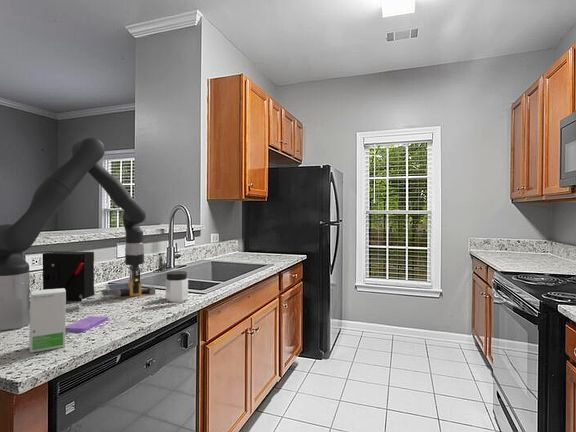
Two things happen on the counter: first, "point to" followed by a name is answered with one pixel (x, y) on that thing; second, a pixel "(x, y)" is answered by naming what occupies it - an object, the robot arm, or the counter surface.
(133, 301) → the counter surface
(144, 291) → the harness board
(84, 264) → the electrical component
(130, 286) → the orange block
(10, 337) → the counter surface
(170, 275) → the jar
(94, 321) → the sponges
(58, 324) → the skincare box
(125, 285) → the tray
